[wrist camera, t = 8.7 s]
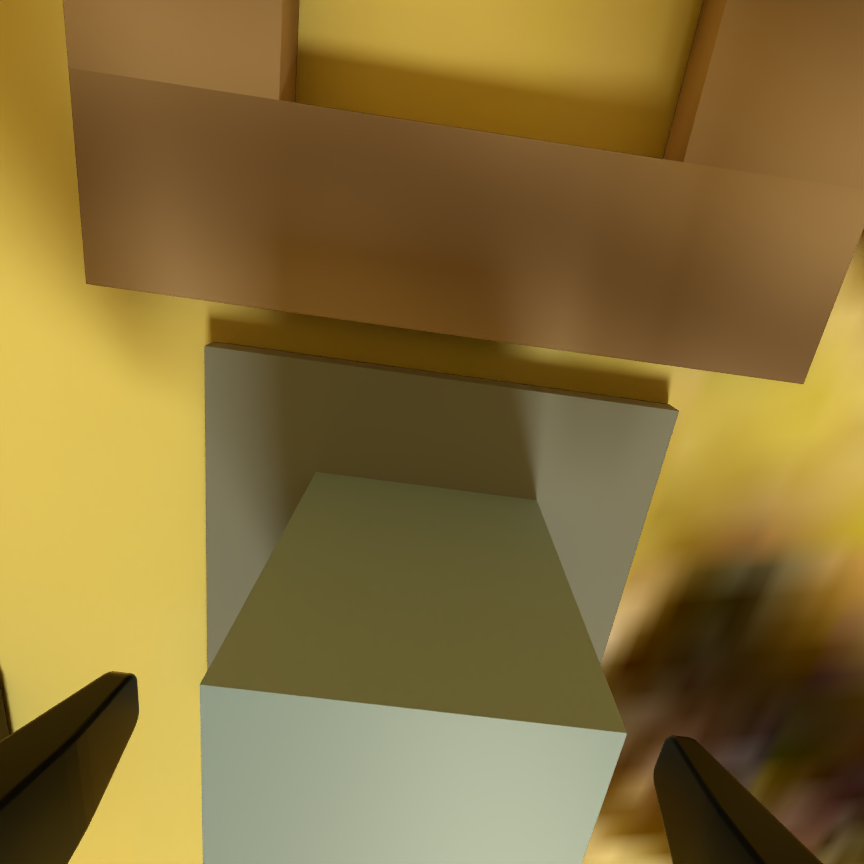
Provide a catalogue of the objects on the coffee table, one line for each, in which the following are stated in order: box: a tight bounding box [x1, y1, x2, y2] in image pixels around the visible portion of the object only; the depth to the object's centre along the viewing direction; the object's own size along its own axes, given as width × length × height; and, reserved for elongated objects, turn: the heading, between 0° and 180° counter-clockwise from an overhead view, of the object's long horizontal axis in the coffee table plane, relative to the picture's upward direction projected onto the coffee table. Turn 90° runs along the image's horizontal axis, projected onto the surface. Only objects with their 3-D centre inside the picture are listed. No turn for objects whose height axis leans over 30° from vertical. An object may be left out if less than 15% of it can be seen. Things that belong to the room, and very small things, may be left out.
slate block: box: [200, 472, 627, 864], centre depth 10 cm, size 5×5×6 cm
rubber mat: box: [205, 342, 679, 669], centre depth 13 cm, size 10×10×1 cm
